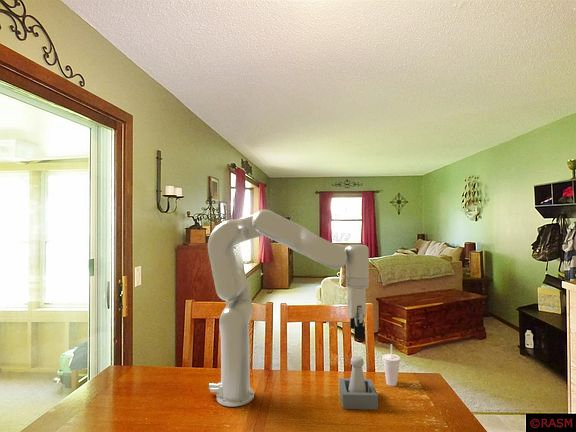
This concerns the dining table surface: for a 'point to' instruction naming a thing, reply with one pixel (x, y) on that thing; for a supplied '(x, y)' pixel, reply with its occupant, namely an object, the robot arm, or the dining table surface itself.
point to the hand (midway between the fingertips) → (357, 333)
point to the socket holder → (358, 396)
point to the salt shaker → (357, 376)
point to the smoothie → (391, 368)
